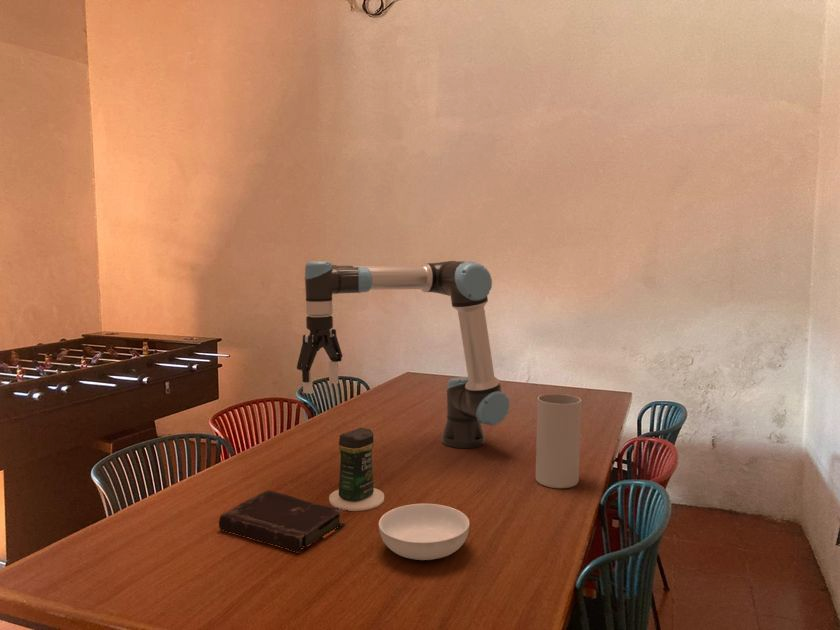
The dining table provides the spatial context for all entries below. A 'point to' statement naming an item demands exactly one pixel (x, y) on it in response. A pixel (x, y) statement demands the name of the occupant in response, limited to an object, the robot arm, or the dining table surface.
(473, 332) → the robot arm
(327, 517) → the diary
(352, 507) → the ceramic trivet
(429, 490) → the dining table surface
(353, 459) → the coffee jar
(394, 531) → the serving bowl
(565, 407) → the cylinder vase
